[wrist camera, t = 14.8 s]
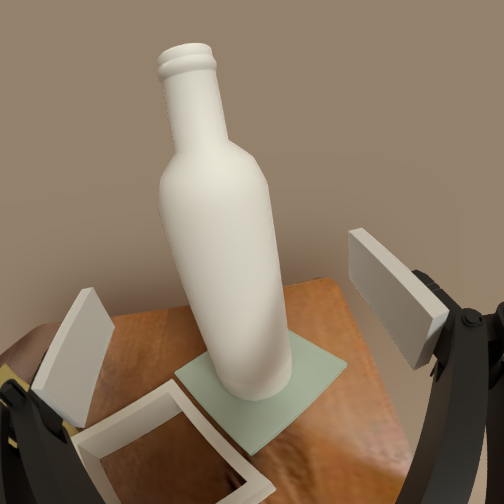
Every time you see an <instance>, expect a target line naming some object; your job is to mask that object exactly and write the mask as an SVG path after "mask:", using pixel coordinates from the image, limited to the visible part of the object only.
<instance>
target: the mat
mask: <svg viewBox="0 0 504 504" xmlns="http://www.w3.org/2000/svg"><path fill="white" fill-rule="evenodd" d="M288 337H289V345H290V347H291V355H292V375H291V378H290V380H289V383H288V384H287V385H286V386H285V387H284V388H283V389H282V391H281V392H279V393H278V394H276V395H274V396H272V397H270V398H268V399H263V400H258V401H249V400H241V399H239V398H237V397H235V396H233V395H231V394H230V393H229V392H228V391H227V390H226V389H225V387H224V386H223V384H222V382H221V381H220V379H219V377H218V375H217V373H216V369H215V366H214V363H213V361H212V359H211V356H210V354H209V352H208V350H207V351H206V352H204V353H203V354H201V355H200V356H198V357H197V358H195V359H194V360H192V361H191V362H189V363H188V364H186V365H185V366H183V367H182V368H180V369H179V370H177V371H175V372H174V373H175V375H176V376H177V378H178V379H179V380H180V381H181V382H182V384H183V385H184V386H185V387H186V389H187V390H188V391H189V392H190V393H191V394H192V396H193V397H194V398H195V399H196V400H197V401H198V403H199V404H200V405H201V406H202V407H203V408H204V409H205V410H206V411H207V413H208V414H209V415H210V416H211V417H212V418H213V419H214V420H215V421H216V422H217V423H218V424H219V425H220V426H221V427H222V429H223V430H224V431H225V432H226V433H227V434H228V435H229V436H230V437H231V438H232V439H233V440H234V441H235V442H236V443H237V444H239V445H240V446H241V447H242V448H243V449H244V450H245V451H246V452H247V453H248V454H249V455H250V456H252V455H254V454H255V453H256V452H257V451H259V450H260V449H261V448H262V447H264V446H265V445H266V444H267V443H269V442H270V441H271V440H272V439H273V438H275V437H276V436H277V435H278V434H279V433H280V432H282V431H283V430H284V429H285V428H286V427H287V426H288V425H289V424H291V423H292V422H293V421H294V420H295V419H296V418H297V417H298V416H299V415H300V414H301V413H302V412H303V411H304V410H306V409H307V408H308V407H309V406H310V405H311V404H312V403H313V402H314V401H315V400H316V399H317V398H318V397H319V396H320V395H321V394H322V393H323V392H324V391H325V389H326V388H327V387H328V386H329V385H330V384H331V383H332V382H333V381H334V380H335V379H336V378H337V377H338V376H339V374H340V373H341V372H342V371H343V370H344V369H345V368H346V367H347V362H345V361H343V360H341V359H339V358H338V357H336V356H334V355H332V354H330V353H328V352H327V351H325V350H323V349H321V348H320V347H318V346H316V345H314V344H312V343H311V342H309V341H307V340H305V339H304V338H302V337H300V336H298V335H297V334H295V333H293V332H292V331H290V330H288Z"/></svg>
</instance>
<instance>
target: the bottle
mask: <svg viewBox="0 0 504 504" xmlns="http://www.w3.org/2000/svg"><path fill="white" fill-rule="evenodd" d="M157 60H158V66H159V69H158V73H157V74H158V79H159V81H160V83H161V84H162V88H163V94H164V99H165V104H166V109H167V114H168V119H169V124H170V128H171V133H172V137H173V142H174V147H175V151H176V152H175V154H174V155H173V157H172V159H171V160H170V162H169V164H168V165H167V167H166V169H165V170H164V172H163V174H162V176H161V178H160V188H159V215H160V218H161V221H162V225H163V228H164V231H165V234H166V237H167V241H168V244H169V247H170V250H171V253H172V256H173V259H174V262H175V265H176V268H177V271H178V274H179V277H180V279H181V282H182V285H183V288H184V290H185V293H186V296H187V299H188V301H189V304H190V307H191V309H192V312H193V315H194V317H195V320H196V322H197V325H198V327H199V330H200V332H201V335H202V337H203V340H204V342H205V345H206V347H207V349H208V352H209V354H210V356H211V359H212V361H213V363H214V366H215V369H216V373H217V375H218V377H219V379H220V381H221V382H222V384H223V386H224V387H225V389H226V390H227V391H228V392H229V393H230V394H231V395H233V396H235V397H237V398H239V399H241V400H249V401H258V400H263V399H268V398H270V397H272V396H274V395H276V394H278V393H279V392H281V391H282V389H283V388H284V387H285V386H286V385H287V384H288V383H289V380H290V378H291V375H292V355H291V347H290V345H289V337H288V328H287V320H286V312H285V304H284V296H283V288H282V281H281V274H280V265H279V258H278V251H277V244H276V237H275V230H274V223H273V216H272V209H271V203H270V196H269V190H268V183H267V181H266V179H265V177H264V175H263V173H262V171H261V169H260V168H259V166H258V164H257V163H256V161H255V159H254V157H253V156H252V155H250V154H249V153H247V152H246V151H244V150H243V149H242V148H240V147H239V146H237V145H236V144H234V143H233V142H231V141H230V140H228V134H227V129H226V124H225V119H224V113H223V108H222V103H221V98H220V92H219V87H218V82H217V76H216V68H217V64H216V61H215V59H214V58H213V56H212V50H211V48H210V47H209V46H208V45H205V44H202V43H191V44H184V45H179V46H176V47H173V48H170V49H168V50H166V51H165V52H163V53H162V54H161V55H160V56H159V58H158V59H157Z"/></svg>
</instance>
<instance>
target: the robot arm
mask: <svg viewBox="0 0 504 504" xmlns="http://www.w3.org/2000/svg"><path fill="white" fill-rule="evenodd" d="M348 275H349V279H350V280H351V282H352V283H353V284H354V286H355V287H356V288H357V290H358V291H359V292H360V294H361V295H362V296H363V298H364V299H365V301H366V302H367V303H368V305H369V306H370V308H371V309H372V310H373V312H374V313H375V315H376V316H377V317H378V319H379V320H380V322H381V323H382V325H383V326H384V327H385V329H386V330H387V332H388V333H389V335H390V336H391V338H392V339H393V341H394V342H395V344H396V345H397V346H398V348H399V349H400V351H401V352H402V354H403V356H404V357H405V359H406V360H407V362H408V363H409V365H410V366H411V368H412V369H413V371H414V370H416V369H418V368H420V367H422V366H424V365H426V364H428V363H429V361H430V359H431V357H432V355H433V354H434V355H435V356H436V358H437V361H436V363H435V365H434V368H433V370H432V372H431V374H430V376H432V375H433V374H434V377H433V383H432V388H431V394H430V399H429V404H428V408H427V413H426V416H425V421H424V424H423V428H422V432H421V435H420V439H419V442H418V445H417V449H416V452H415V455H414V458H413V461H412V464H411V466H410V469H409V472H408V474H407V477H406V480H405V482H404V484H403V487H402V489H401V492H400V494H399V496H398V498H397V501H396V503H395V504H468V501H469V498H470V495H471V492H472V488H473V485H474V481H475V477H476V474H477V469H478V465H479V461H480V455H481V451H482V445H483V438H484V432H485V424H486V434H487V457H488V458H487V488H486V500H485V504H504V302H502V303H500V304H499V305H498V307H497V310H496V312H495V313H494V314H488V315H483V316H482V315H481V313H479V312H478V311H476V310H474V309H471V308H464V309H461V307H460V306H459V305H457V303H456V302H455V301H453V299H451V297H449V295H448V294H446V292H444V290H442V289H440V287H439V286H438V285H437V284H436V283H434V281H433V280H432V279H431V278H430V277H429V276H428V275H426V274H425V273H422V272H420V271H418V270H414V271H410V270H409V269H408V268H407V267H406V266H404V265H403V264H402V263H401V262H400V261H399V260H398V259H397V258H396V257H395V256H394V255H392V254H391V253H390V252H389V251H388V250H387V249H386V248H385V247H384V246H383V245H381V244H380V243H379V242H378V241H377V240H376V239H374V238H373V237H372V236H371V235H370V234H369V233H367V232H366V231H365V230H364V229H363V228H359V229H355V230H350V231H349V274H348ZM114 328H115V326H114V324H113V323H112V321H111V319H110V317H109V316H108V314H107V312H106V311H105V309H104V307H103V305H102V304H101V302H100V300H99V298H98V296H97V294H96V292H95V290H94V288H93V287H91V288H86V289H82V290H81V292H80V293H79V295H78V297H77V299H76V300H75V302H74V303H73V305H72V307H71V309H70V310H69V312H68V314H67V316H66V318H65V319H64V321H63V323H62V325H61V326H60V328H59V330H58V332H57V334H56V336H55V338H54V340H53V342H52V343H51V345H50V347H49V349H48V350H47V351H46V352H45V354H44V356H43V358H42V360H41V363H40V364H39V366H38V369H37V371H36V373H35V375H34V377H33V380H32V382H31V384H30V387H29V389H28V391H27V392H26V391H25V390H24V389H23V387H22V386H21V385H20V384H19V383H18V382H17V381H16V380H15V379H9V380H7V381H6V382H4V383H3V385H2V386H1V388H0V399H1V400H2V401H3V402H4V403H5V404H6V405H7V406H5V405H4V404H3V403H2V402H1V401H0V504H106V503H105V501H104V500H103V498H102V497H101V495H100V493H99V492H98V490H97V489H96V487H95V485H94V483H93V482H92V480H91V478H90V476H89V475H88V473H87V471H86V469H85V467H84V465H83V463H82V461H81V459H80V457H79V455H78V453H77V451H76V449H75V447H74V445H73V443H72V440H71V438H70V436H69V434H68V431H67V429H66V428H65V427H64V426H63V425H62V423H63V420H65V421H66V422H67V423H68V424H70V425H71V426H72V427H79V428H85V424H86V419H87V415H88V411H89V407H90V404H91V400H92V396H93V392H94V389H95V385H96V382H97V379H98V375H99V372H100V369H101V366H102V362H103V359H104V356H105V353H106V350H107V347H108V344H109V342H110V339H111V336H112V333H113V330H114ZM9 438H10V439H11V440H13V441H14V442H15V443H17V448H15V447H14V446H12V445H11V444H10V443H9Z"/></svg>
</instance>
